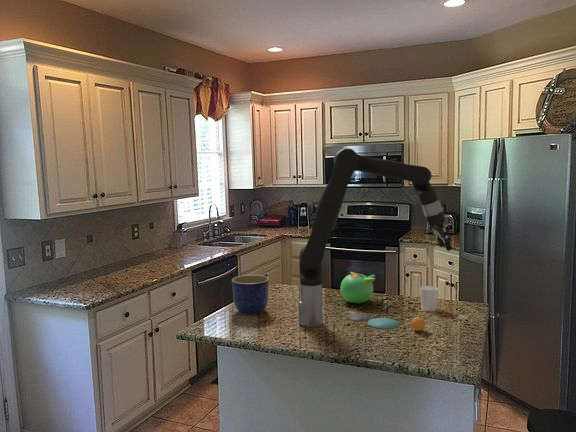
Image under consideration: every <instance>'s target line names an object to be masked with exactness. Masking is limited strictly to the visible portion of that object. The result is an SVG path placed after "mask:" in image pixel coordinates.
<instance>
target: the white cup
mask: <svg viewBox="0 0 576 432" xmlns="http://www.w3.org/2000/svg"><path fill="white" fill-rule="evenodd" d="M419 289H420V290H419V292H420V293H419V294H420V309H421V310H422V311H424V312H436V311H437V310H438V309H437V308H438V300H439V299H438V298H439V287H437V286H432V285H422V286H420V287H419Z"/></svg>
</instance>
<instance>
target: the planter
mask: <svg viewBox="0 0 576 432" xmlns="http://www.w3.org/2000/svg"><path fill="white" fill-rule="evenodd" d="M269 285H270V278H269V277H268V276H266V275H261V274H245V275H239V276H234V277H233V278H232V279H231V287H232V298H233V305H234V306H235V308H236V310H237V311H238V312H239V313H241V314H243V315H244V314H245V315H257V314H259V313H262V312H263V311H265V309H266V307H267V306H268V302H269V288H270V286H269Z"/></svg>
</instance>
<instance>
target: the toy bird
mask: <svg viewBox="0 0 576 432" xmlns="http://www.w3.org/2000/svg"><path fill="white" fill-rule="evenodd" d="M349 272H350V274H348V275H346V276H345V277H344V278H343V279H342V281H341V283H340V293H341V294H340V295H341V296H342V297H343V298H344V300H345V301H347V302H349V303H352V304H363V303H366V302H367V301H369V300H370V299H371V297H372V296H373V293H374V284H373V282H374V281H376V275H375V274H371V275H368V276H367V275H364V274H362V273H356V272H353V271H349Z"/></svg>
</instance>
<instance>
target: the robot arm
mask: <svg viewBox="0 0 576 432" xmlns="http://www.w3.org/2000/svg"><path fill="white" fill-rule="evenodd" d="M333 164H334V167H333V170H332V174H331V176H330V179H329V181H328V184H327V185H326V187H325V189H324V191H323V193H322V194H321V196H320V199H319V200H318V201H319V202H318V204H317V206H316V208H315V209H316V210H315V212H314V217H313V222H312V227H311V233H310V236H309V238H308V240H307V243H306V244H305V245H304V246H302V248H301V249H300V250H299V256H298V257H299V263H298V264H299V280H300V281H299V287H300V288H299V295H300V296H299V300H300V301H299V302H298V325H301V326H304V327H307V328H312V327H313V328H315V327H319V326H322V324H323V273H322V272H323V271H322V263H323V261H324V260H323V259H324V257H325V256H324V254H325V251H326V248H327V243H328V240H329V238H330V235H331V233H332V232H333V229H334V227H335V224H336V222H337V220H338V217H339V213H340V211H341V208H342V206H343V203H344V200H345V199H344V198H345V196H346V191H347V188H348V185H349V182H350V180H351V178H352V176H353V174H354V172H362V173H368V174H372V175H377V176H379V177H384V178H388V179H394V180H398V181H406V182H411V183H412V186H413V187H414V190H415V192H416V194H417V196H418V199H419V203H420V204H421V208H422V213H423V215H424V218H425V221H426V223H427V226H428V227H431V230H432V234H433V236H434V238H435V239H436V240H437V242H438V246H439V248H444V247H445V249H446V251H447V252H449V251H452V250H453V247H452V244H451V240H452V237H451V235H450V232H449V230H448V227H447V226H445V225H444V224H443V223H444V222H446V220H447V218H446V216H445V213H444V210H443V207H442V204H441V202H440V200H439V198H438V194H437V191H436V190H435V188H434V187H433V186H432V184H431V183H430V180H431V179H432V172H431V170H430V169H429V168H427V167H426V166H421V165H416V164H415V165H414V164H407V163H404V162H400V161H395V160H392V159H391V160H390V159H383V158H375V157H367V156H364V155H361V154H358V153H357V152H356V151H355V150H354V149H352V148H342V149H340V150H338V151H337V152H336V153H335V155H334V156H333Z"/></svg>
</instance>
